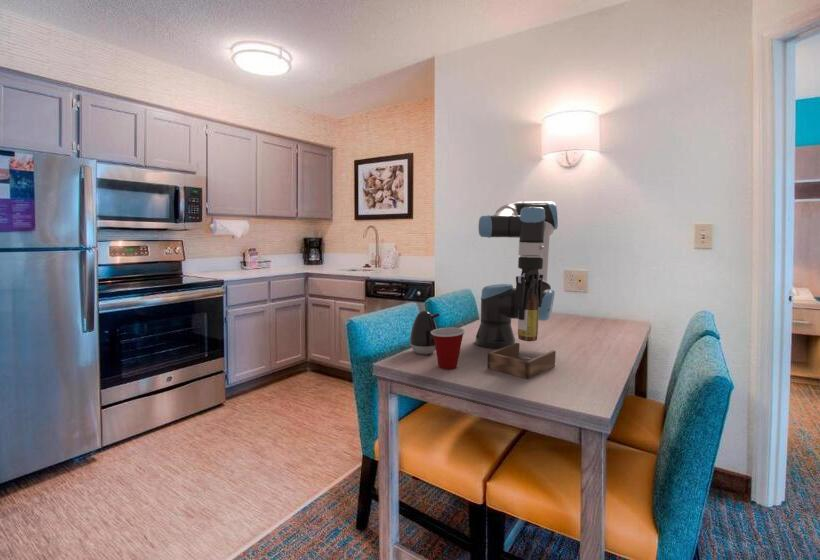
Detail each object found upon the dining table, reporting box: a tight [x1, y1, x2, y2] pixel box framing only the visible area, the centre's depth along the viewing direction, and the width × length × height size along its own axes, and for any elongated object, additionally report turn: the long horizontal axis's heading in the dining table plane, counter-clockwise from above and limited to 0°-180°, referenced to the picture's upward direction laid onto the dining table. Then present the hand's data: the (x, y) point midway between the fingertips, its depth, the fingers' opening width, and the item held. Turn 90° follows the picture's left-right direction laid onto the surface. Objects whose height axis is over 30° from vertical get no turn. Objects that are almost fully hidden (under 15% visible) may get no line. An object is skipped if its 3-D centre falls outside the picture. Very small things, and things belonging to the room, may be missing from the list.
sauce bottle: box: [517, 279, 539, 342], centre depth 135 cm, size 7×6×20 cm
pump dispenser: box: [409, 310, 440, 355], centre depth 149 cm, size 10×10×15 cm
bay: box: [486, 342, 556, 380], centre depth 134 cm, size 14×18×5 cm
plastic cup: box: [431, 326, 466, 370], centre depth 133 cm, size 11×11×12 cm
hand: (527, 327), depth 135 cm, fingers closed on sauce bottle, 6 cm apart
